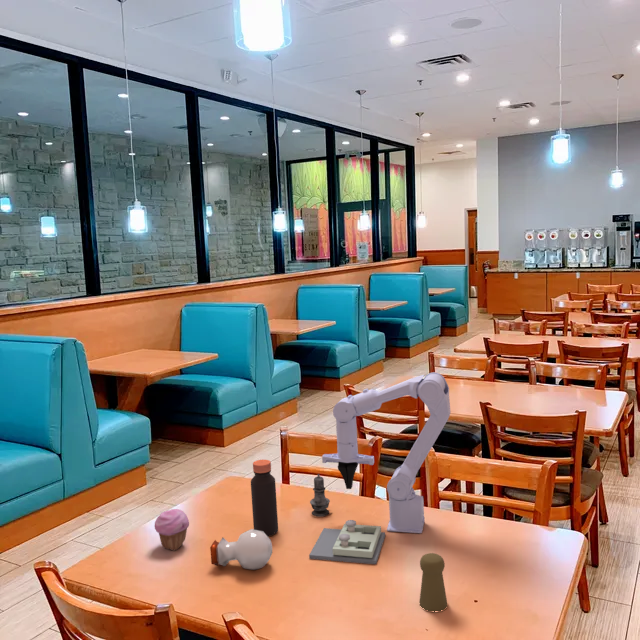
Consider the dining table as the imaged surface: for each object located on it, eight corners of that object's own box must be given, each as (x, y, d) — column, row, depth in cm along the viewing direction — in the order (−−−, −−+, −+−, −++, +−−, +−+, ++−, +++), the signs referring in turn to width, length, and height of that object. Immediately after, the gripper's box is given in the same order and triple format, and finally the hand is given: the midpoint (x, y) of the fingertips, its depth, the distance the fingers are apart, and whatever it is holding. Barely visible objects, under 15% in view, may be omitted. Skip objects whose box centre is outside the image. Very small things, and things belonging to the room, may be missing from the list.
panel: (332, 554, 155) (332, 548, 155) (344, 529, 168) (344, 523, 168) (372, 558, 152) (371, 551, 152) (381, 531, 166) (380, 526, 166)
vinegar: (280, 526, 175) (276, 458, 173) (276, 537, 169) (271, 466, 166) (256, 526, 176) (252, 458, 174) (251, 537, 169) (246, 467, 167)
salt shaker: (328, 517, 179) (326, 477, 178) (308, 516, 180) (306, 477, 179) (332, 509, 185) (330, 470, 183) (312, 508, 186) (310, 469, 185)
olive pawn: (416, 597, 137) (414, 550, 135) (443, 595, 137) (441, 548, 136) (423, 613, 131) (421, 564, 129) (451, 611, 131) (449, 562, 130)
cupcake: (150, 550, 165) (147, 514, 163) (172, 536, 172) (169, 502, 171) (176, 557, 160) (173, 520, 159) (197, 542, 168) (194, 507, 167)
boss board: (309, 558, 156) (308, 540, 156) (324, 531, 170) (323, 514, 170) (376, 564, 152) (375, 545, 151) (385, 535, 166) (384, 518, 166)
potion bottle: (276, 575, 152) (217, 580, 154) (278, 538, 159) (223, 543, 161) (265, 557, 146) (205, 563, 148) (268, 519, 153) (211, 525, 155)
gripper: (375, 437, 175) (377, 483, 177) (325, 435, 179) (327, 480, 181) (370, 445, 169) (372, 493, 170) (319, 443, 172) (321, 490, 174)
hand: (349, 487), depth 175 cm, fingers closed
